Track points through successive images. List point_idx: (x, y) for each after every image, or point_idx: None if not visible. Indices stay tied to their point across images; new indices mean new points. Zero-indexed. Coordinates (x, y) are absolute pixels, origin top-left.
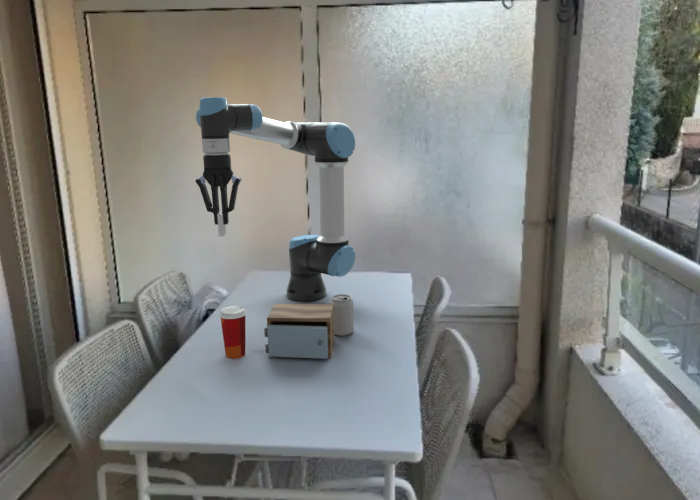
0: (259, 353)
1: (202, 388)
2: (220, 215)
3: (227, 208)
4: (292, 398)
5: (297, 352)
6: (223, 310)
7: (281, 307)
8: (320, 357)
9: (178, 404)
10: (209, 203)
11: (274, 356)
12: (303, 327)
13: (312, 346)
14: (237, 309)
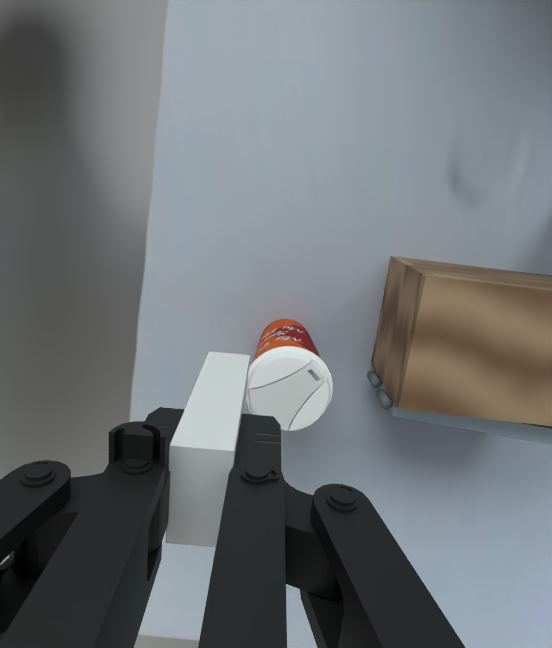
0: (346, 337)
1: None
2: (205, 534)
3: (288, 581)
4: (418, 544)
5: None
6: (258, 397)
7: (449, 319)
8: None
9: (202, 546)
10: (5, 629)
11: None
12: (499, 431)
13: None
14: (304, 393)
